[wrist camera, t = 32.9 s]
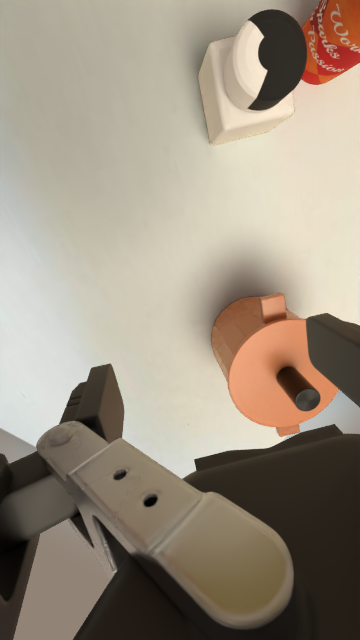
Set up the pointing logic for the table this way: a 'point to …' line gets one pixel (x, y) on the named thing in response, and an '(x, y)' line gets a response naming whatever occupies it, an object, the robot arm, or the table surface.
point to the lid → (278, 376)
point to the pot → (247, 330)
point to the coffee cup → (332, 40)
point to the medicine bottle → (252, 77)
